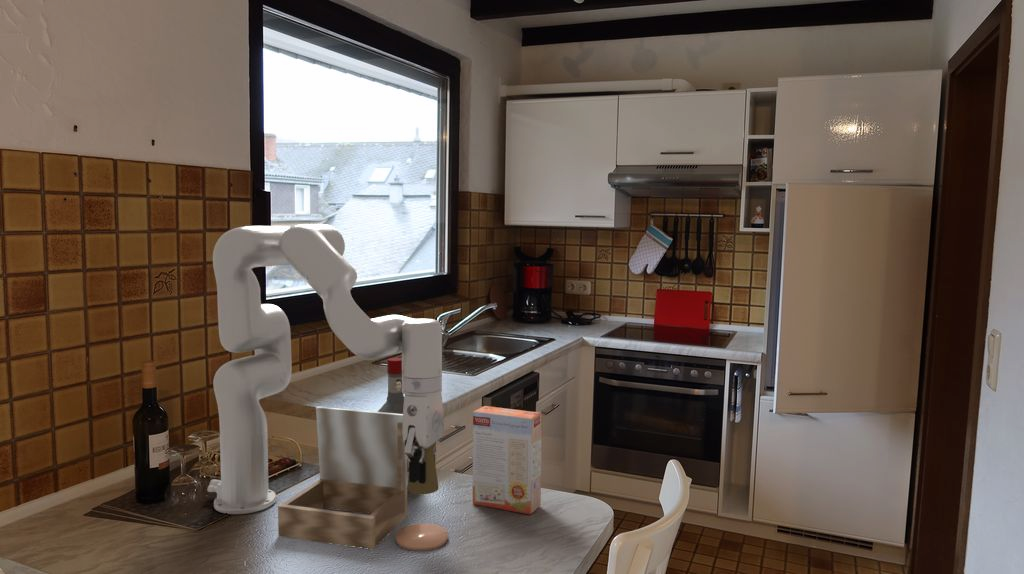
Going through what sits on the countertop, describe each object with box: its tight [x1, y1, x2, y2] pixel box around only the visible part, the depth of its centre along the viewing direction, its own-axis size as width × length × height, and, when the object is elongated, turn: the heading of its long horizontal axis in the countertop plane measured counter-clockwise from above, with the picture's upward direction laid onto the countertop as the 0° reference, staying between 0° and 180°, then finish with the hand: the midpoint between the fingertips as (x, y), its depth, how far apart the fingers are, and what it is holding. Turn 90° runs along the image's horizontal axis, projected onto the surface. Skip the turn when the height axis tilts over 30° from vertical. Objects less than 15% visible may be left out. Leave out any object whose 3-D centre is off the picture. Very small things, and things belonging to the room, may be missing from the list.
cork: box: [407, 441, 439, 495], centre depth 139 cm, size 6×6×11 cm
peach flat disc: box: [395, 522, 449, 552], centre depth 141 cm, size 10×10×1 cm
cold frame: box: [277, 405, 408, 550], centre depth 145 cm, size 20×16×22 cm
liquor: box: [377, 357, 410, 494], centre depth 166 cm, size 9×9×30 cm
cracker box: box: [472, 405, 543, 515], centre depth 157 cm, size 14×6×21 cm, turn 65°
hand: (422, 477), depth 139 cm, fingers closed on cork, 4 cm apart
